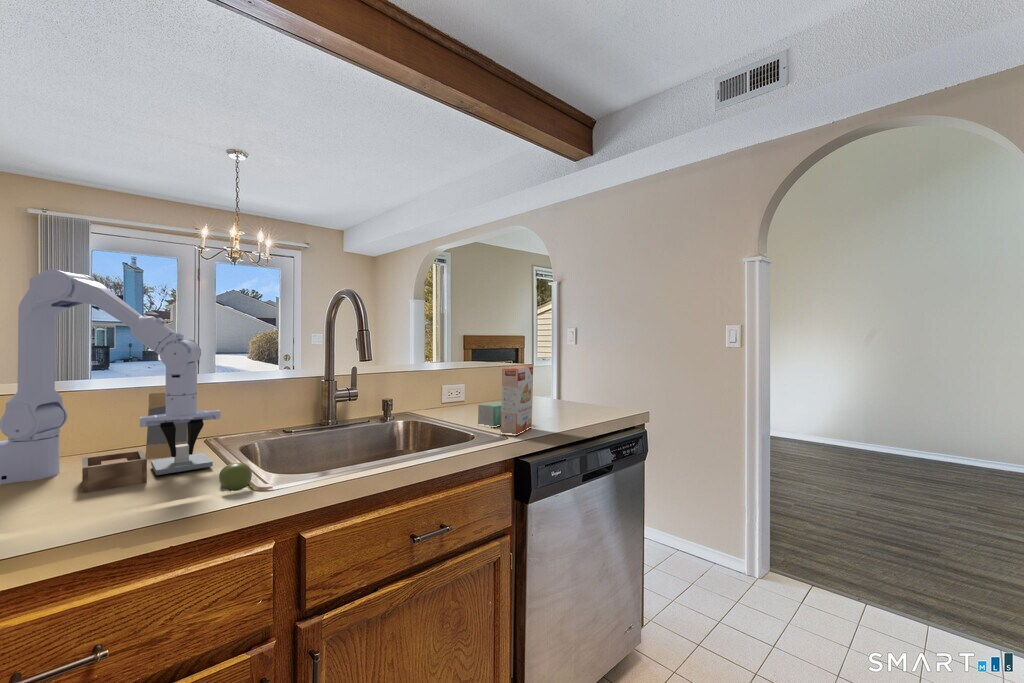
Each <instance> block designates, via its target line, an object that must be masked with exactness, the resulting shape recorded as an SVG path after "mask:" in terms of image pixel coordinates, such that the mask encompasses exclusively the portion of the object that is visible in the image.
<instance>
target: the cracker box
mask: <svg viewBox="0 0 1024 683" xmlns="http://www.w3.org/2000/svg"><path fill="white" fill-rule="evenodd" d="M533 383H534V367H533V366H531V365H530V366H529V365H516V366H511V367H510V366H509V367H503V368H502V369H501V401H502V402H501V426H500V433H501V432H502V433H512V434H518V433H520V432H522V431H524V430H526V429H527V428H529V427H531V426H532V425H533V423H532V422H533V419H532V418H533V392H534V391H533V390H534V389H533V388H534V387H533V386H534V384H533Z"/></svg>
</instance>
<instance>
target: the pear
mask: <svg viewBox="0 0 1024 683" xmlns="http://www.w3.org/2000/svg"><path fill="white" fill-rule="evenodd" d="M252 471H253V470H252V469H251V467H250V466H249V465H248V464H247V463H243V462H235V463H233V462H232V463H229V464H227V465H225V466H224V467H222V468H221V470H220V471H219V474H218V476H219V477H218V479H219V482H220V484H221V486H222V487H223V488H224V489H226V490H228V491H230V492H231V491H232V492H236V491H240V490H243V489H246V487H247V486H248V485H249V484H250V483H251V481H252V478H253V473H252Z"/></svg>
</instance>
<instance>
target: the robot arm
mask: <svg viewBox="0 0 1024 683" xmlns="http://www.w3.org/2000/svg"><path fill="white" fill-rule="evenodd" d="M28 284H29V288H28V290H27V291H26V293H25V294H24V296H23V297H22V299H21V301H20V302H19V305H18V314H17V315H18V316H17V317H18V318H17V319H18V321H17V322H18V324H17V325H18V327H17V391H16V393H15V394H13V395H12V396H11V397H10V399H8V401H6V403H5V410H4V413H3V415H2V416H1V418H0V431H1V433H2V434H3V435H4V436H5V437H6V438H8V439H6V440H0V485H5V484H12V483H13V484H14V483H19V482H20V483H21V482H22V483H23V482H31V481H39V480H43V479H48V478H51V477H54V476H57V475H59V474H60V468H61V467H60V464H61V463H60V459H61V458H60V433H61V428H62V427H63V426H64V425H65V424H66V422H67V420H68V411H67V410H66V408H65V406H64V404H63V396H62V395H61V394H60V393H59V392H58V391H56V389H55V388H56V387H55V385H56V384H55V383H56V376H55V375H56V326H57V325H56V320H57V319H56V318H57V316H58V315H61V314H62V313H64V312H65V311H67V310H68V309H70V308H72V307H73V308H74V307H76V306H79V305H83V304H87V305H93V306H96V307H97V308H98V309H100V310H101V311H103V312H104V313H106V314H108V315H110V316H111V317H113V318H114V319H116V320H117V321H119V322H121V323H122V324H124V325H126V326H128V328H130V334H131V336H132V338H134V339H136V340H137V341H138V342H140V343H141V344H143V345H144V346H146V347H147V348H149V349H150V350H152V351H153V352H154V353H156V354H157V355H159V358H160V360H161V362H162V363H163V364H164V366H165V393H166V414H160V415H153V416H148V415H147V416H146V415H145V416H139V427H140V428H147V427H148V426H152V425H159V426H160V428H161V430H162V431H163V433H164V435H165V437H166V439H167V442H168V444H169V448H170V452H171V456H172V457H176V445H175V435H176V428H175V425H174V423H182V422H187V428H188V445H189V455H192V454H194V448H195V446H196V442H197V439H198V436H199V434H200V433H201V430H202V429H203V428H204V421H210V420H221V410H219V409H215V410H198V363H197V362H198V361H199V360H200V359H201V356H202V348H201V347H200V345H199V344H198V343H197V342H196V341H195V340H193V339H191V338H190V339H189V338H184V336H185V335H184V334H183V333H182V332H176V331H175V330H173V329H172V328H171V327H169V326H167V325H166V324H165V323H166V320H165V319H163V318H162V317H157V318H156V317H155V316H143V315H142V314H140V313H139V312H138V311H137V310H136V309H135V308H133V307H132V306H130V305H129V304H128V303H126V301H125V300H123V299H121V298H120V297H119V296H117V294H115V293H114V292H112V291H111V290H110V289H108V287H106V286H105V285H104V284H103V283H101V282H98V281H96V280H95V279H94V278H93V277H91V276H90V275H87V274H84V273H83V274H82V273H74V272H73V273H72V272H69V271H62V270H59V269H51V268H50V269H46V270H43V271H41V272H39V273H37V274H36V275H34V276H32V277H29V283H28ZM184 419H186V420H184ZM172 420H175V421H172Z"/></svg>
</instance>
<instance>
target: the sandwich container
mask: <svg viewBox="0 0 1024 683" xmlns="http://www.w3.org/2000/svg"><path fill="white" fill-rule="evenodd" d="M147 411H148V412H147V416H153V415H160V414H166V392H156V393H155V392H154V393H153V392H152V393H149V394H148V408H147ZM184 420H186V419H184ZM172 421H175V420H172ZM174 425H175V428H176V435H175V445H180V444H188V428H187V422H182V423H174ZM146 428H147V431H146V444H145V457H146V459H147V460H155V459H164V458H171V457H172V456H171V452H170V448H169V444H168V442H167V439H166V437H165V435H164V433H163V431H162V430H161V428H160V426H159V425H152V426H147V427H146Z"/></svg>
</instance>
